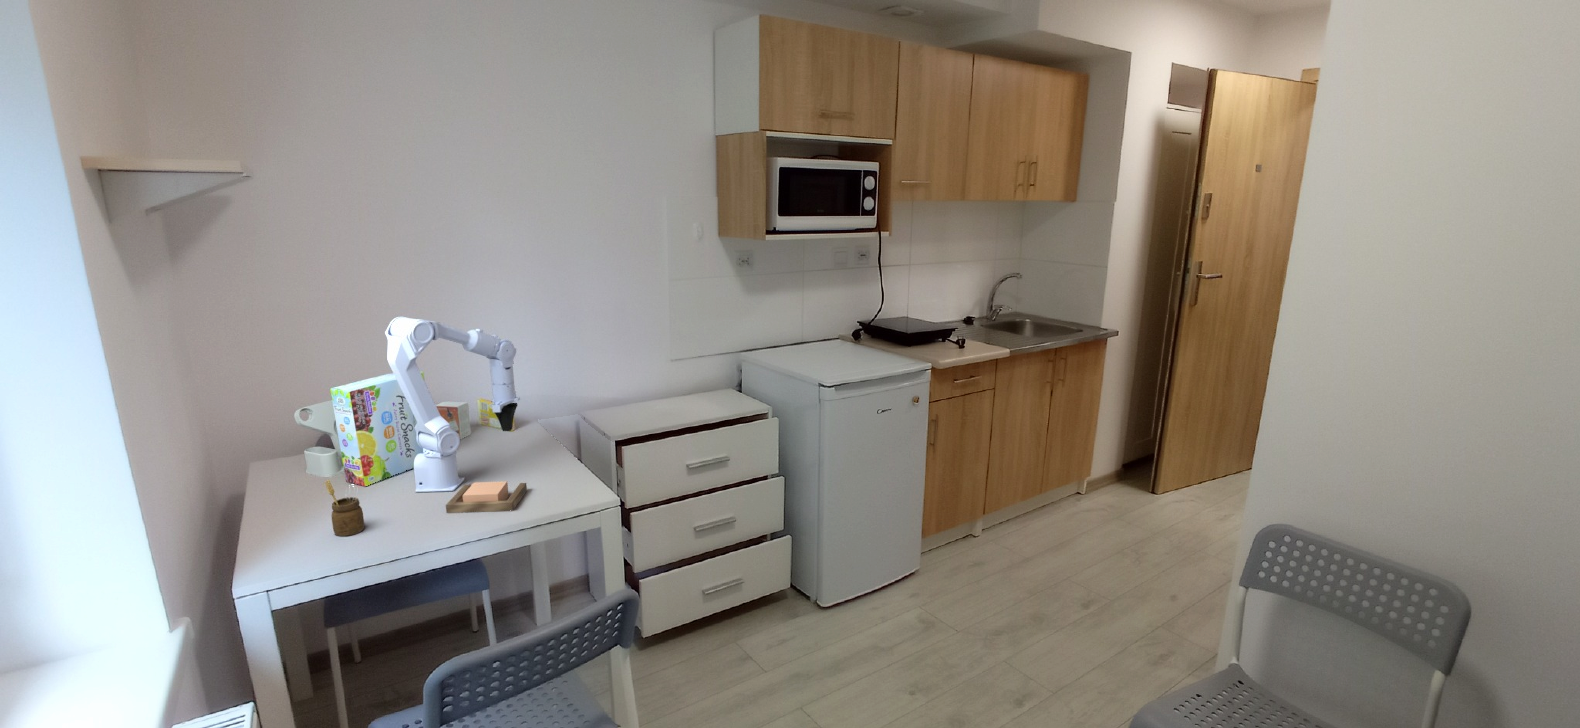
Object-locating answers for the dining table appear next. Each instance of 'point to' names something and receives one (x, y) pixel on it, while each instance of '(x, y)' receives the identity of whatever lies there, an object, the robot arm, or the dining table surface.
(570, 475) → the dining table surface
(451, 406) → the small box
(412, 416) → the snack box
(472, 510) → the brown u-shaped wooden frame
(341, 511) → the utensil holder
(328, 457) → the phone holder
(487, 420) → the candy box
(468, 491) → the carton
